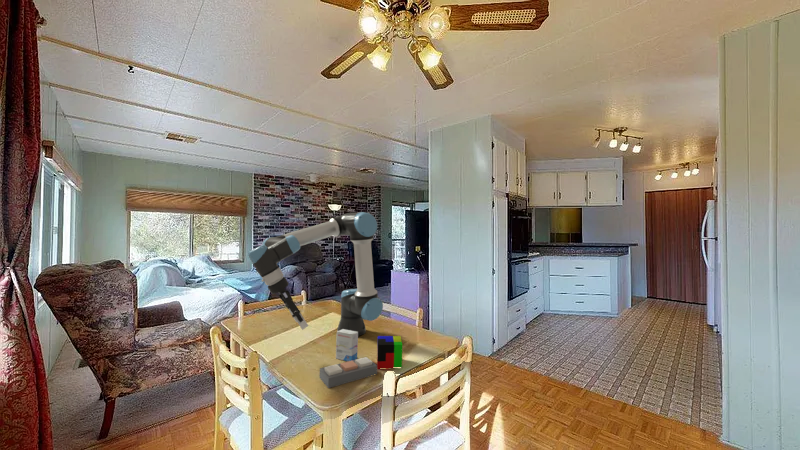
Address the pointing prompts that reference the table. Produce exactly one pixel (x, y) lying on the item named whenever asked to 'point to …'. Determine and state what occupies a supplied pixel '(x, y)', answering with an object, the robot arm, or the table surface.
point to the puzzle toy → (389, 352)
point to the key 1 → (332, 369)
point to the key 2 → (363, 362)
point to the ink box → (346, 345)
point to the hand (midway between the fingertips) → (302, 323)
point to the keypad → (347, 375)
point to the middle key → (348, 365)
